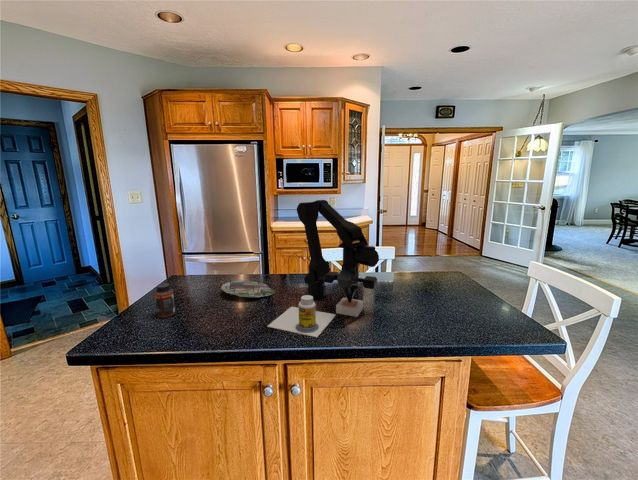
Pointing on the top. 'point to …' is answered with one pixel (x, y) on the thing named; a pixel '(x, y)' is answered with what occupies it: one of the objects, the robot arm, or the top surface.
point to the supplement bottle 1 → (164, 301)
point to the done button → (350, 303)
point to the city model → (247, 289)
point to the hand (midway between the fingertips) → (349, 301)
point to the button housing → (349, 308)
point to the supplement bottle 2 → (307, 313)
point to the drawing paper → (291, 322)
